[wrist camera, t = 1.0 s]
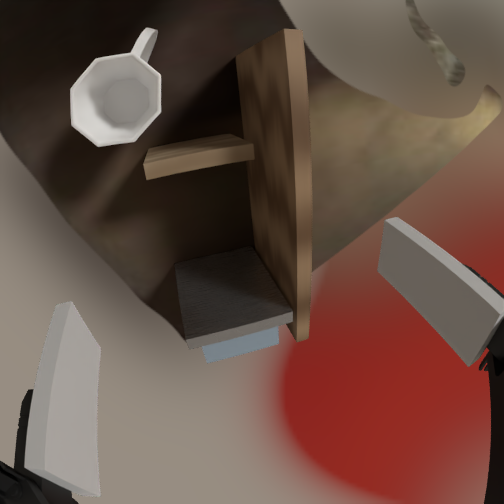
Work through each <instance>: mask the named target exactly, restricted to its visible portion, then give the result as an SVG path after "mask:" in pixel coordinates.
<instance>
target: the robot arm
mask: <svg viewBox="0 0 504 504" xmlns="http://www.w3.org/2000/svg"><path fill="white" fill-rule="evenodd" d="M377 271H378V272H379V273H380V274H381V275H382V276H383V277H384V278H385V279H386V280H387V281H388V282H389V283H390V284H391V285H392V286H393V287H394V288H396V290H397V291H398V292H399V293H400V294H401V295H402V296H404V298H405V299H406V300H407V301H408V302H409V303H410V304H411V305H412V306H413V307H414V308H415V309H416V310H417V311H418V312H419V313H420V314H421V315H422V316H423V317H424V318H425V319H426V320H427V321H428V322H429V323H430V325H431V326H432V327H433V328H434V329H435V330H436V331H437V332H438V333H439V334H440V335H441V336H442V338H443V339H444V340H445V341H446V342H447V343H448V344H449V345H450V346H451V347H452V349H453V350H454V351H455V352H456V353H457V354H458V355H459V356H460V358H461V359H462V360H463V361H464V362H465V363H466V365H467V366H468V367H469V366H470V365H471V364H473V363H474V362H475V361H476V360H478V359H479V358H480V357H481V355H482V353H483V352H484V350H485V349H486V347H487V348H488V349H489V352H488V353H487V355H486V356H485V358H484V359H483V361H482V362H481V364H480V366H479V370H482V368H483V367H484V366H485V364H486V363H488V364H487V365H486V367H485V369H484V371H488V372H489V383H490V399H491V447H490V462H489V472H488V481H487V488H486V494H485V500H484V504H504V295H503V294H502V293H501V292H499V291H498V290H497V289H496V288H495V287H494V286H493V285H492V284H490V283H488V282H487V280H486V279H484V278H483V277H481V276H480V274H478V273H477V272H476V271H475V270H473V269H472V268H471V267H468V266H466V265H464V264H462V263H460V262H459V261H458V260H456V259H455V258H454V257H452V256H451V255H449V254H448V253H447V252H446V251H445V250H443V249H442V248H441V247H439V246H438V245H436V244H435V243H434V242H432V241H431V240H430V239H428V238H427V237H425V236H424V235H422V234H421V233H420V232H418V231H417V230H416V229H414V228H413V227H411V226H410V225H408V224H407V223H405V222H404V221H402V220H401V219H399V218H398V217H395V218H391V219H387V220H385V221H384V230H383V237H382V245H381V251H380V258H379V264H378V270H377ZM100 356H101V348H100V346H99V344H98V343H97V341H96V340H95V338H94V337H93V335H92V334H91V332H90V331H89V329H88V327H87V326H86V324H85V323H84V321H83V319H82V318H81V316H80V314H79V313H78V311H77V309H76V308H75V306H74V304H73V303H72V301H69V302H65V303H62V304H57V305H56V307H55V310H54V313H53V317H52V319H51V323H50V326H49V329H48V333H47V336H46V340H45V343H44V347H43V351H42V355H41V359H40V363H39V367H38V372H37V376H36V380H35V385H34V389H31V390H28V391H27V393H26V395H25V397H24V399H23V401H22V405H21V411H20V418H19V424H18V426H19V429H18V431H17V440H16V451H15V463H14V469H13V468H11V467H10V466H8V465H6V464H5V463H3V462H1V461H0V504H78V502H77V501H75V500H74V499H73V498H72V493H71V492H74V493H76V494H78V495H81V496H93V497H101V492H100V481H99V468H98V446H97V406H98V405H97V404H98V403H97V402H98V381H99V368H100V367H99V366H100Z"/></svg>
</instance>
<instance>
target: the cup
mask: <svg viewBox="0 0 504 504" xmlns="http://www.w3.org/2000/svg"><path fill="white" fill-rule="evenodd" d="M157 35H158V30H155V29H152V28H145V30H144V31H143V32H142V33H141V34H140V36H139V38H138V39H137V41H136V43H135V45H134V47H133V49H132V51H131V53H126V54H119V55H112V56H106V57H101V58H96V59H95V60H94V61H93V62H92V63H91V64H90V66H89V67H88V68H87V69H86V70H85V71H84V73H83V74H82V75H81V76H80V77H79V79H78V80H77V81H76V82H75V84H74V85H73V86H72V87H71V89H70V103H71V125H72V126H73V127H74V128H75V129H76V130H78V131H79V132H80V133H81V134H83V135H84V136H85V137H86V138H87V139H89V140H90V141H91V142H92V143H94V144H95V145H96V146H97V147H102V146H108V145H115V144H122V143H129V142H135V141H136V140H137V139H138V137H139V136H140V135H141V134H142V133H143V132H144V130H145V129H146V128H147V127H148V126H149V125H150V124H151V123H152V122H153V120H154V119H155V118H156V117H157V116H158V115H159V114H160V113H161V75H160V74H159V73H158V72H157V71H156V70H154V69H153V68H152V67H151V66H150V65H149V64H147V62H148V60H149V57H150V55H151V52H152V49H153V47H154V44H155V41H156V39H157Z"/></svg>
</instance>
